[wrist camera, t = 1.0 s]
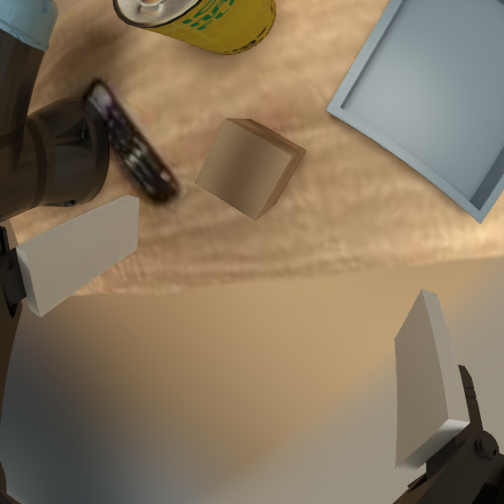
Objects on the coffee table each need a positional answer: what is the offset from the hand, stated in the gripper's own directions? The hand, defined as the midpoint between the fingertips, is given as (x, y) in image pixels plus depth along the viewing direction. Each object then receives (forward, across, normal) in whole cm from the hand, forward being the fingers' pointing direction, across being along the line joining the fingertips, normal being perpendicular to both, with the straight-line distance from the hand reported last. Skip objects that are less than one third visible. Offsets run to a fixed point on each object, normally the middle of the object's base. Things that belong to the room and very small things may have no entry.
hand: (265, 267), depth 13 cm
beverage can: (+18, -12, +15) cm, 26 cm away
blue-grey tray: (+17, +10, +15) cm, 25 cm away
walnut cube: (+18, -6, +1) cm, 18 cm away
